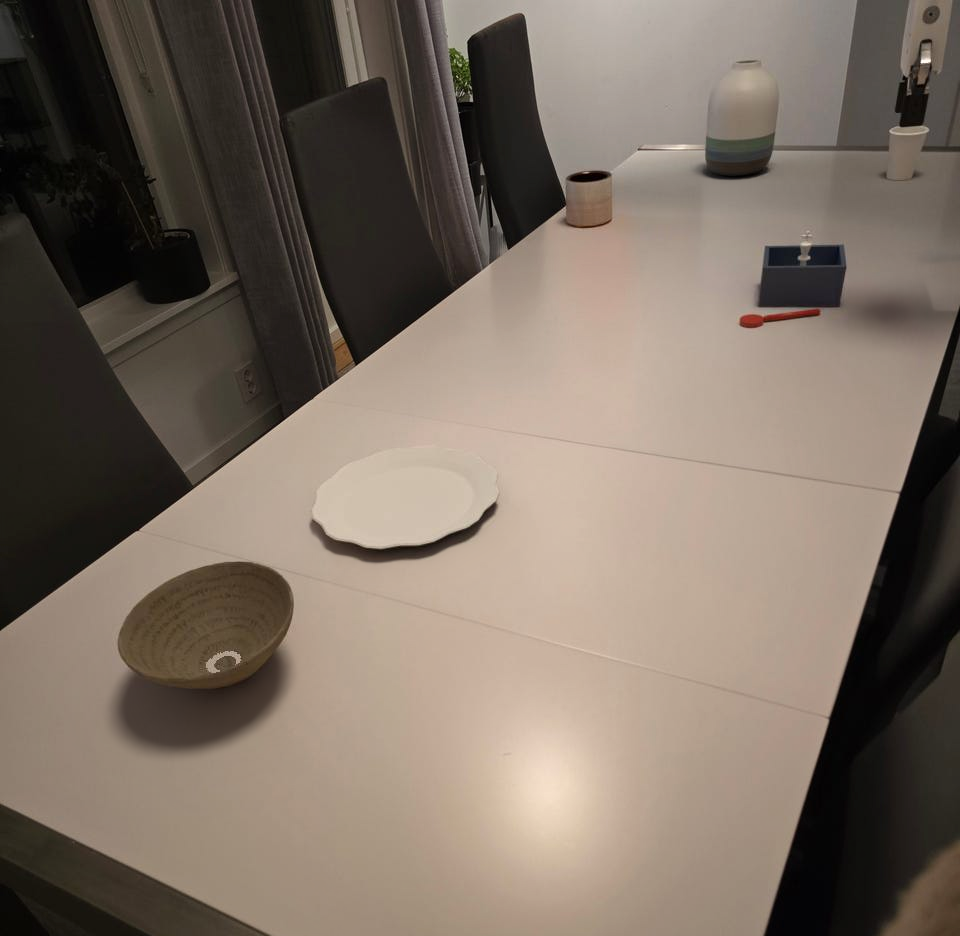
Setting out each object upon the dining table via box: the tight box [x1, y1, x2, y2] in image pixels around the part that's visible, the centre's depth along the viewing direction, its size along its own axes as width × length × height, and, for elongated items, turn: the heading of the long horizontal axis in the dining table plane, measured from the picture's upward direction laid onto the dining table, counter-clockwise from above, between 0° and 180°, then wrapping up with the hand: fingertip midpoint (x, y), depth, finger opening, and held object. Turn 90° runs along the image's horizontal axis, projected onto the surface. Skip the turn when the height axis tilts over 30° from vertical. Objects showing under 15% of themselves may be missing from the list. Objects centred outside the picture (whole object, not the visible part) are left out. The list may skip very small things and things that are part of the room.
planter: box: [565, 169, 613, 228], centre depth 195 cm, size 11×11×10 cm
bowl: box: [117, 560, 295, 690], centre depth 88 cm, size 18×18×8 cm
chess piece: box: [798, 230, 813, 266], centre depth 149 cm, size 5×5×10 cm
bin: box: [758, 244, 847, 308], centre depth 150 cm, size 14×12×7 cm
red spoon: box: [739, 308, 821, 329], centre depth 145 cm, size 14×4×1 cm, turn 94°
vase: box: [704, 58, 780, 177], centre depth 210 cm, size 17×17×24 cm
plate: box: [310, 444, 500, 551], centre depth 112 cm, size 25×25×2 cm
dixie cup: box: [885, 125, 930, 181], centre depth 196 cm, size 8×8×10 cm
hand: (908, 118), depth 126 cm, fingers open, 9 cm apart
